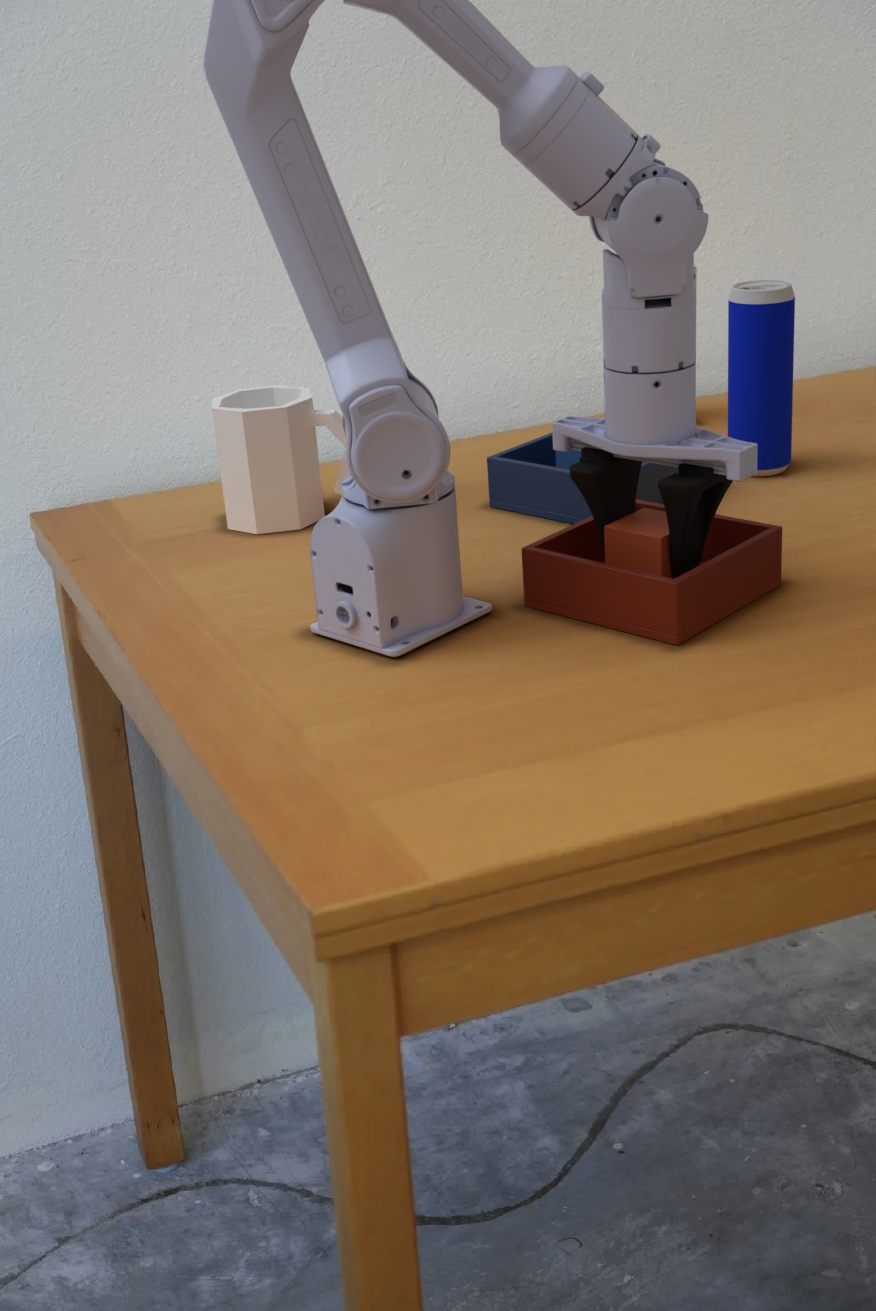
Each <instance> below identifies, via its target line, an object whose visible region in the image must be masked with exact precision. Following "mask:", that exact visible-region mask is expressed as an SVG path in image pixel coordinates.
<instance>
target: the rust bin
mask: <svg viewBox="0 0 876 1311" xmlns="http://www.w3.org/2000/svg"><path fill="white" fill-rule="evenodd" d="M642 508H648V509H654V510H659V511H664V512H666V511H665V507H664V504H659V503H654V502H648V501H643V500H638V499H636V502H635V512H636V511H638V510H640V509H642ZM782 560H783V526H781V525H776V524H769V523H766V522H760V521H755V520H749V519H743V518H738V517H734V516H727V515H723V514H719V513H718V514H717V513H716V514H715V516H714V518H713V521H712V523H711V526H710V529H709V532H708V535H707V538H706V542H705V545H704V549H703V553H702V557H701V565H699V566H698V567H696V568H694V569H692V570H690V571H688V572H686V573H684V574H683V575H681V576H679V577H677V578H675V579H672V578H668V577H663V576H659V575H654V574H650V573H645V572H641V571H637V570H632V569H628V568H623V567H619V566H614V565H610V564H606V563H605V552H604V548H603V545H602V542H601V538H600V535H599V532H598V529H597V526H596V523H595V521H594V518H593V516H591V517H589V518H586V519H584V520H582V521H580V522H578V523H575V524H571V525H569V526H566V527H564V528H562V529H560V530H558V531H556V532H553V533H551V534H549V535H547V536H545V537H542V538H541V539H538V540H536V541H534V542H531V543H529V544H527V545H525V546H523V547H521V567H522V569H521V570H522V584H523V604H524V606H525V607H528V608H532V609H536V610H540V611H544V612H547V613H551V614H554V615H559V616H563V617H566V618H570V619H575V620H577V621H582V622H586V623H589V624H594V625H597V626H601V627H605V628H609V629H613V630H617V631H620V632H624V633H627V634H632V635H636V636H640V637H644V638H647V639H651V640H654V641H659V642H663V643H667V644H671V645H674V646H679V645H681V644H682V643H684V642H686V641H687V640H690V639H691V638H693V637H694V636H696V635H697V634H699V633H701V632H703V631H704V630H706V629H708V628H710V627H711V626H713V625H715V624H717V623H718V622H720V621H721V620H723V619H725V618H726V617H728V616H730V615H732V614H733V613H735V612H737V611H738V610H740V609H742V608H744V607H745V606H747V605H749V604H750V603H752V602H754V601H755V600H758V599H759V598H761V597H762V596H764V595H766V594H767V593H769V592H771V591H773V590H775V589H776V588H777V587H779V586H781V585H782V567H783V566H782V564H783V563H782V562H783V561H782Z"/></svg>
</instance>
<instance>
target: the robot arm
mask: <svg viewBox="0 0 876 1311" xmlns="http://www.w3.org/2000/svg"><path fill="white" fill-rule="evenodd" d="M325 1H326V0H212V5H211V10H210V16H209V24H208V30H207V35H206V42H205V48H204V53H203V69H204V74H205V79H206V82H207V84H208V86H209V89H210V91H211V94H212V96H213V98H214V101H215V103H216V105H217V108H218V110H219V113H220V115H221V118H222V120H223V122H224V124H225V127H226V130H227V131H228V135H229V137H230V139H231V142H232V144H233V146H234V149H235V151H236V153H237V156H238V158H239V160H240V164H241V165H242V168H243V170H244V172H245V175H246V177H247V179H248V182H249V185H250V187H251V189H252V192H253V194H254V197H255V199H256V201H257V203H258V206H259V208H260V211H261V213H262V216H263V218H264V220H265V223H266V226H267V227H268V230H269V233H270V235H271V238H272V240H273V242H274V244H275V247H276V249H277V252H278V254H279V257H280V259H281V261H282V263H283V266H284V269H285V271H286V273H287V275H288V277H289V281H290V283H291V286H292V288H293V290H294V292H295V294H296V298H297V300H298V302H299V304H300V307H301V309H302V311H303V315H304V317H305V319H306V321H307V323H308V326H309V328H310V330H311V334H312V336H313V337H314V340H315V343H316V345H317V348H318V350H319V352H320V354H321V358H322V360H323V362H324V364H325V368H326V370H327V374H328V377H329V380H330V382H331V386H332V389H333V392H334V395H335V399H336V401H337V404H338V406H339V409H340V411H341V416H342V421H343V429H344V433H345V435H346V441H347V442H346V448H345V449H346V461H347V465H348V469H349V472H350V473H349V476H348V478H346V479H344V480H343V482H342V495H341V498H340V500H339V502H338V504H337V506H335V508H334V509H333V510H332V511H331V512H330V513H328V514H327V515H325V517H323V518H322V519H321V520H319V521H317V522H315V525H314V527H313V528H312V530H311V534H310V539H309V555H310V556H309V557H310V565H311V573H312V574H311V575H312V581H313V582H312V583H313V591H314V600H315V609H316V616H317V621H315V622H312V623H310V626H309V628H310V632H311V633H313V634H317V635H320V636H322V637H323V636H324V637H327V638H331V639H333V640H336V641H339V642H343V643H346V644H349V645H353V646H355V647H359V648H362V649H365V650H368V651H372V652H375V653H377V654H381V655H384V656H388V657H392V658H397V657H400V656H402V655H404V654H406V653H409V652H410V651H412V650H415V649H417V648H419V647H420V646H423V645H425V644H427V643H429V642H431V641H433V640H435V639H437V638H439V637H441V636H443V635H445V634H447V633H449V632H451V631H454V630H455V629H458V628H459V627H462V626H463V625H466V624H468V623H470V622H472V621H474V620H475V619H478V618H481V617H482V616H483V615H486V614H488V613H490V612H491V611H492V609H493V608H492V607H493V606H492V603H490V602H488V601H483V600H480V599H476V598H473V597H468V596H465V595H464V594H463V592H464V591H463V580H462V578H463V577H462V566H461V565H462V564H461V550H460V536H459V524H458V522H459V521H458V506H457V494H456V493H457V492H456V480H455V476H454V475H453V473H451V472H450V471H448V469H449V465H450V460H451V443H450V439H449V435H448V433H447V431H446V429H445V427H444V424H443V423H442V421H441V420H440V418H439V407H438V404H437V402H436V398H435V396H434V395H433V393H432V391H431V390H430V388H428V387H427V385H426V384H425V383H424V382H423V381H421V380H420V379H419V378H418V377H417V376H416V375H414V374H413V373H412V372H411V370H410V369H409V367H408V366H407V365H406V363H405V361H404V357H403V355H402V353H401V350H400V348H399V345H398V343H397V340H396V339H395V337H394V334H393V332H392V330H391V326H390V325H389V322H388V320H387V316H386V315H385V312H384V309H383V307H382V305H381V301H380V299H379V297H378V294H377V292H376V289H375V287H374V284H373V281H372V279H371V276H370V273H369V271H368V268H367V266H366V264H365V261H364V259H363V256H362V253H361V251H360V249H359V246H358V243H357V241H356V238H355V236H354V233H353V231H352V228H351V226H350V223H349V220H348V218H347V215H346V213H345V211H344V208H343V205H342V203H341V200H340V198H339V195H338V192H337V191H336V188H335V185H334V182H333V180H332V178H331V174H330V173H329V170H328V167H327V165H326V163H325V160H324V157H323V156H322V152H321V149H320V147H319V145H318V142H317V139H316V137H315V135H314V132H313V129H312V127H311V125H310V122H309V119H308V117H307V115H306V112H305V109H304V106H303V104H302V102H301V99H300V97H299V94H298V92H297V89H296V86H295V84H294V81H293V79H292V74H291V73H292V68H293V66H294V63H295V61H296V59H297V56H298V54H299V51H300V50H301V47H302V45H303V42H304V39H305V37H306V35H307V32H308V30H309V28H310V20H311V18H312V17H313V15H314V14H315V13H316V12H317V10H318V9H319V8H320V7H321V5H322V4H323V3H324V2H325ZM343 4H345V5H348V6H352V7H356V8H360V9H363V10H367V11H371V12H375V13H378V14H382V15H387V16H390V17H392V18H393V19H395V20H396V21H398V22H399V23H400V24H401V25H402V26H404V28H406V29H407V30H408V31H409V32H410V33H411V34H412V35H413V36H415V37H416V39H418V40H419V41H420V42H421V43H422V44H424V46H426V47H427V48H428V49H429V50H430V51H431V52H433V54H435V56H437V57H438V58H440V59H441V60H442V61H443V62H444V63H445V64H446V65H447V66H448V67H450V68H451V70H453V71H454V72H455V73H457V75H459V76H460V77H461V78H462V79H463V80H464V81H465V82H467V84H469V85H470V86H471V87H472V88H473V89H474V90H476V92H478V93H479V94H480V95H481V96H482V97H483V98H484V99H486V101H488V102H489V103H490V104H491V105H493V106H494V107H495V108H496V110H497V113H498V119H499V120H498V121H499V141H500V145H501V146H502V147H503V149H505V150H506V151H507V152H508V153H509V154H510V155H511V156H512V157H514V159H516V160H517V161H518V162H519V163H520V164H521V165H522V166H523V167H524V168H525V169H527V170H528V171H529V172H530V173H531V174H532V175H533V177H535V178H536V179H537V180H538V181H539V182H540V183H541V184H542V185H544V187H546V188H547V189H548V190H549V191H550V192H551V193H552V194H553V195H554V196H555V197H556V198H557V199H559V200H560V201H561V202H562V203H563V204H564V205H565V206H566V207H567V208H568V209H570V210H571V211H572V213H574V214H575V215H576V216H578V217H588V221H589V224H590V228H591V231H592V233H593V235H594V236H595V238H596V239H597V240H598V241H599V242H602V243H605V244H606V245H607V246H608V247H609V248H610V249H611V250H610V249H608V248H604V249H602V270H603V272H602V273H603V288H602V291H601V320H602V322H601V323H602V324H601V325H602V354H603V359H602V360H603V395H604V396H603V398H604V400H603V401H604V402H603V403H604V417H586V416H576V415H568V416H566V417H563V418H560V419H557V420H555V421H552V422H551V433H552V434H553V450H556V451H562V452H566V451H569V450H577V451H581V457H580V458H579V460H580V462H578V463H575V464H573V465H571V466H570V478H571V479H572V481H573V482H574V483H575V485H576V486H577V488H578V489H579V491H580V492H581V494H582V496H583V497H584V499H585V501H586V503H587V505H588V507H589V509H590V511H591V513H592V516H593V518H594V521H595V523H596V526H597V529H598V532H599V535H600V538H601V542H602V545H603V548H604V552H605V537H604V526H606V525H608V524H610V523H613V522H615V521H617V520H619V519H621V518H623V517H625V516H628V515H630V514H632V513H634V512H635V502H636V493H637V486H638V480H639V475H640V470H641V465H642V461H643V462H649V463H655V464H661V465H667V466H673V467H679V473H678V474H677V473H675V474H673V475H670V476H668V477H666V478H664V479H661V480H659V481H658V489H659V491H660V494H661V497H662V500H663V503H664V507H665V511H666V516H667V521H668V527H669V537H670V567H671V573H672V577H673V579H675V578H677V577H679V576H681V575H683V574H684V573H686V572H688V571H690V570H692V569H694V568H696V567H698V566H699V565H700V562H701V557H702V553H703V549H704V545H705V542H706V538H707V535H708V532H709V529H710V526H711V523H712V521H713V518H714V516H715V514H717V511H718V509H719V507H720V505H721V503H722V501H723V499H724V497H725V495H726V493H727V491H728V490H729V489H730V487H731V485H732V484H733V481H734V482H739V483H740V482H742V481H744V480H747V479H748V478H751V477H754V476H753V475H755V474H756V473H757V449H758V444H757V443H751V442H745V441H741V440H737V439H734V438H731V437H728V435H725V434H721V433H718V432H715V431H713V430H709V429H706V428H702V427H700V426H697V404H696V402H697V400H696V398H697V397H696V396H697V395H696V394H697V393H696V391H697V387H696V386H697V385H696V384H697V383H696V382H697V289H696V290H695V287H694V266H695V258H694V257H695V256H694V255H695V253H696V251H697V250H698V249H699V247H700V246H701V244H702V242H703V240H704V238H705V235H706V233H707V229H708V224H709V214H708V212H705V211H704V205H703V203H702V202H701V198H702V197H701V194H700V192H699V190H698V189H697V187H696V185H695V183H694V182H692V180H691V179H690V178H689V177H688V176H686V175H685V174H684V173H682V172H680V171H678V170H677V169H674V168H672V167H669V166H667V165H666V163H665V162H664V161H662V160H661V159H659V158H656V154H657V153H658V152H659V151H660V149H661V143H660V142H659V141H657V139H656V138H654V136H653V135H651V134H649V133H645V134H644V135H642V136H640V135H639V134H638V133H637V132H636V130H634V128H632V127H631V126H630V125H629V124H628V123H627V121H625V120H624V119H623V118H622V117H621V116H620V115H619V114H618V113H617V112H616V111H615V110H614V109H612V107H611V106H610V105H609V104H608V103H607V102H605V100H604V99H602V98H601V96H599V95H600V94H601V93H602V92H603V91H604V90H605V85H604V84H603V83H602V82H601V81H600V80H599V79H598V78H597V77H596V76H595V75H594V74H593V73H592V72H588V71H584V72H583V73H582V74H581V75H580V76H579V75H578V74H577V73H576V72H575V71H574V70H573V69H572V68H570V66H569V65H562V64H561V65H551V66H540V67H539V66H538V67H537V66H536V67H535V66H534V65H533V64H532V63H531V62H530V61H529V60H528V59H527V58H526V57H525V56H524V55H523V54H522V52H520V51H519V50H518V49H517V48H516V47H515V46H514V44H512V42H510V41H509V39H508V38H506V36H504V35H503V33H501V31H499V30H498V28H497V27H496V26H494V24H493V23H492V22H491V21H490V20H489V19H488V18H487V17H486V16H485V15H484V13H482V12H481V11H480V10H479V9H478V8H477V7H476V5H475V4H473V2H471V0H343ZM612 250H613V251H614V252H613V251H612Z"/></svg>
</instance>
